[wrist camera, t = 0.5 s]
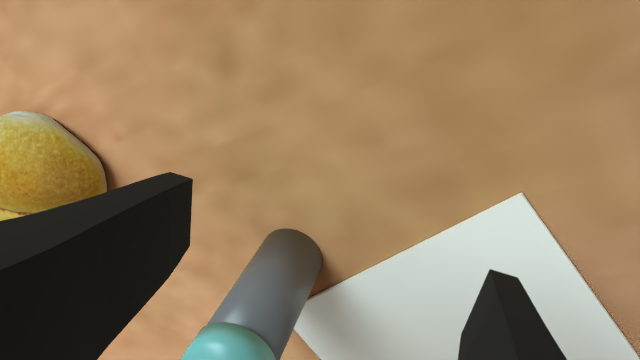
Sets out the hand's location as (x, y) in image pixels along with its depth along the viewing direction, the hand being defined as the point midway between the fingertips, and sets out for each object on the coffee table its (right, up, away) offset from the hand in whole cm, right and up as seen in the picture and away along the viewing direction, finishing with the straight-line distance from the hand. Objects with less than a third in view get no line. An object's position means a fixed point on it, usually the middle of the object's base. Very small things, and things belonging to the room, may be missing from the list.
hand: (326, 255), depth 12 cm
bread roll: (-15, +1, +16) cm, 22 cm away
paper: (+7, -7, +13) cm, 16 cm away
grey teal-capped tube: (-2, -2, +13) cm, 13 cm away
